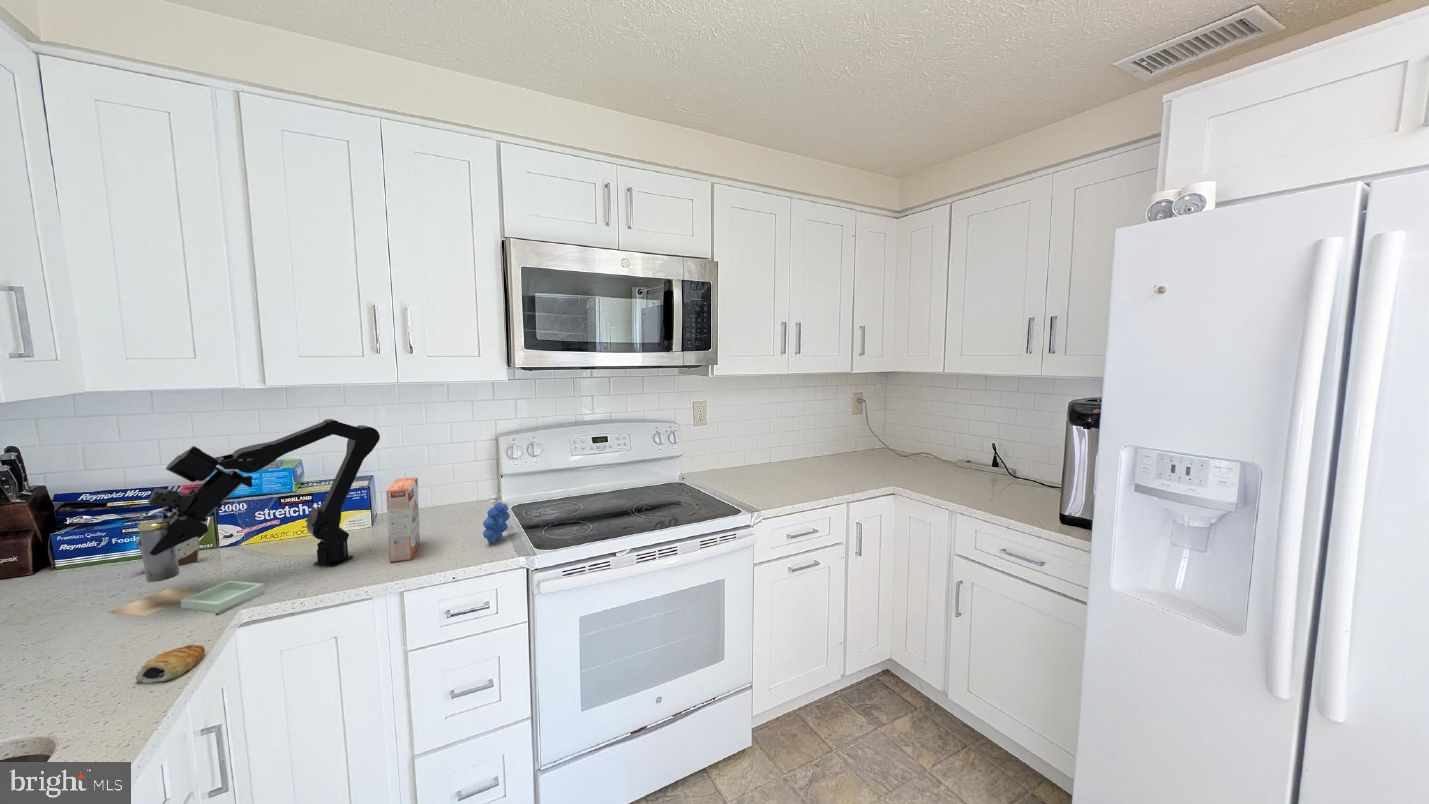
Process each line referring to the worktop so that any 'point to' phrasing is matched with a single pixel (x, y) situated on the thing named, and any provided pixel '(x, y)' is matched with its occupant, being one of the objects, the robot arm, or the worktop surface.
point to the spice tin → (163, 562)
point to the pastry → (170, 664)
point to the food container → (183, 551)
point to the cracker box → (403, 519)
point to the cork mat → (156, 602)
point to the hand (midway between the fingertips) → (150, 551)
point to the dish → (223, 597)
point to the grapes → (496, 522)
